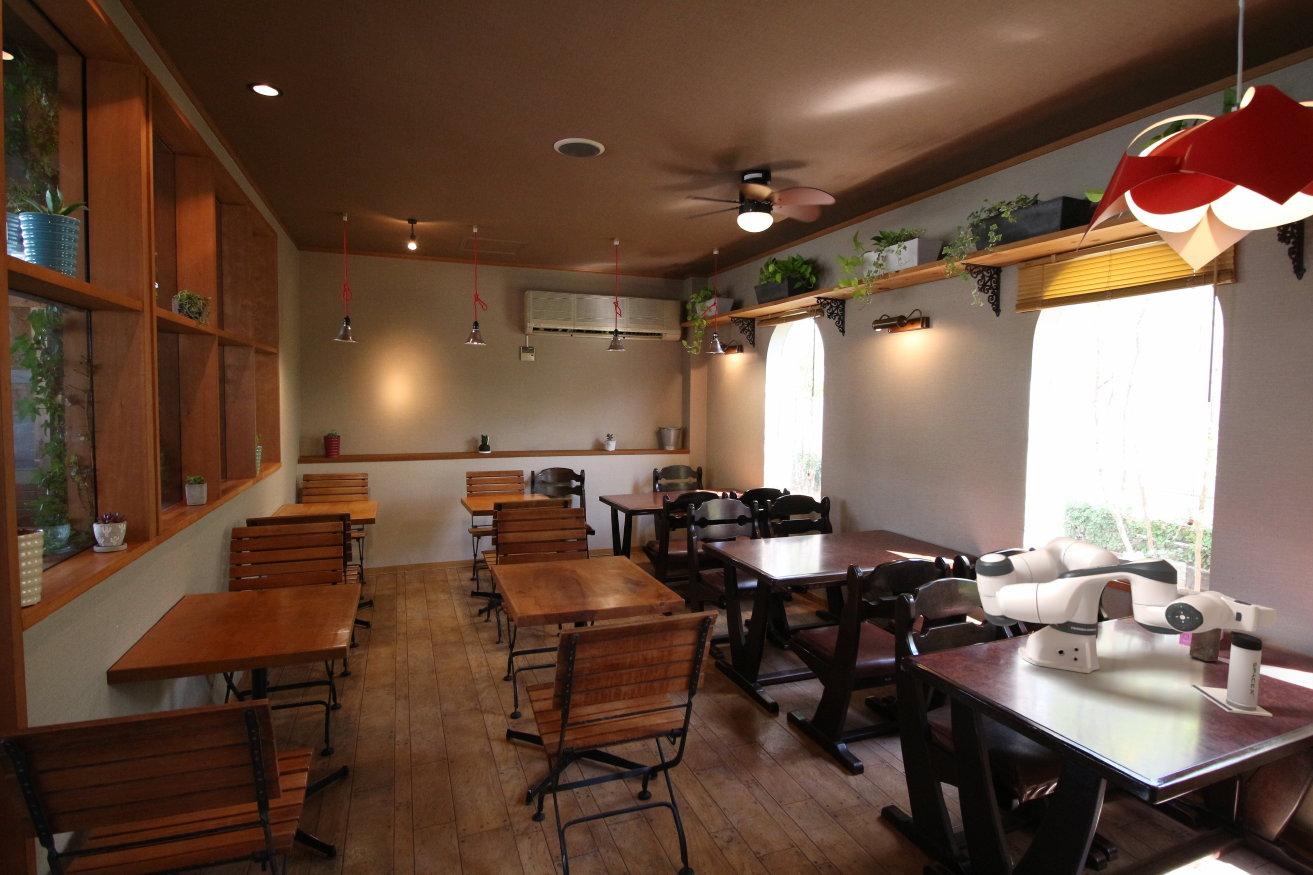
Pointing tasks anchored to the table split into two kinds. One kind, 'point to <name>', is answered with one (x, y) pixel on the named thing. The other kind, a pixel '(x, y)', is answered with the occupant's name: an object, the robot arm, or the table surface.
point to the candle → (1206, 645)
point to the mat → (1220, 699)
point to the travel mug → (1244, 671)
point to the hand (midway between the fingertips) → (1234, 602)
